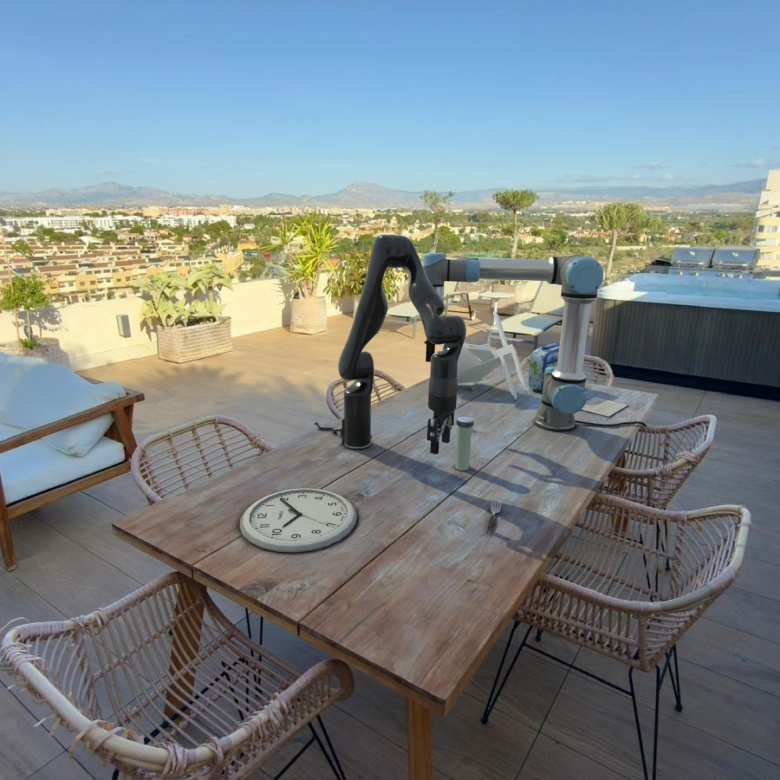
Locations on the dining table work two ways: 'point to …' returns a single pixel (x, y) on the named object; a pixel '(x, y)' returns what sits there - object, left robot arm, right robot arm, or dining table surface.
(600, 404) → the invitation card
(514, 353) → the white plastic object
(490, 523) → the fork
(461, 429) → the bottle
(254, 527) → the wall clock
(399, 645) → the dining table surface
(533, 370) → the lunch box
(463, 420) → the lid
